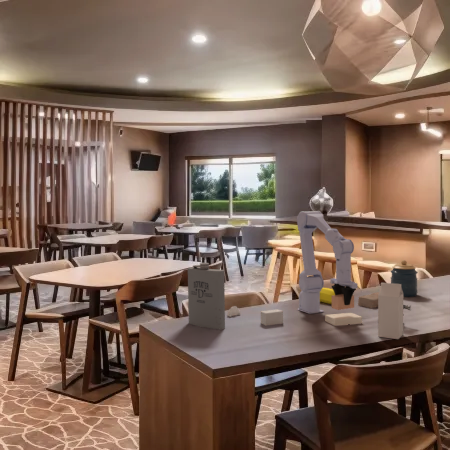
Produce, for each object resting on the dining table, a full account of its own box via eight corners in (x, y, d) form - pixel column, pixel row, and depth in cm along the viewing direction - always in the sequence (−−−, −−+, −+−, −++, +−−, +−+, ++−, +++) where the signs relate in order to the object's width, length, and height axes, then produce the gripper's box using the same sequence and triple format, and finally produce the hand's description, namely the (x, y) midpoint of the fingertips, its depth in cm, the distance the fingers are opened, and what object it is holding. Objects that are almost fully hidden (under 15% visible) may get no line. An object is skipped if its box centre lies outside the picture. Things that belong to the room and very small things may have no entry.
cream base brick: (325, 322, 203) (325, 314, 203) (351, 319, 206) (351, 312, 206) (334, 326, 195) (334, 319, 195) (362, 324, 198) (362, 316, 198)
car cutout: (235, 314, 219) (235, 303, 219) (244, 316, 214) (244, 306, 214) (206, 318, 211) (206, 308, 211) (215, 322, 206) (214, 311, 205)
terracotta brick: (331, 308, 200) (331, 295, 200) (347, 305, 204) (347, 293, 203) (338, 309, 196) (337, 297, 196) (354, 307, 200) (354, 295, 200)
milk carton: (398, 339, 175) (398, 285, 174) (378, 337, 178) (378, 284, 177) (403, 335, 181) (403, 282, 180) (383, 332, 184) (383, 281, 184)
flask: (185, 323, 201) (184, 261, 200) (193, 321, 205) (192, 260, 204) (219, 330, 191) (218, 264, 189) (226, 327, 194) (225, 263, 193)
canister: (395, 291, 264) (395, 258, 263) (420, 294, 257) (420, 259, 256) (387, 295, 254) (387, 260, 253) (413, 298, 246) (413, 262, 245)
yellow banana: (335, 306, 231) (346, 303, 236) (335, 291, 231) (345, 289, 236) (306, 300, 245) (316, 298, 250) (306, 287, 245) (316, 285, 249)
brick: (372, 308, 225) (372, 298, 225) (357, 305, 232) (357, 295, 232) (393, 303, 236) (393, 293, 235) (377, 301, 242) (378, 291, 242)
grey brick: (260, 323, 200) (260, 311, 200) (277, 321, 204) (277, 309, 203) (265, 325, 197) (265, 313, 196) (283, 323, 200) (283, 311, 200)
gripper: (324, 268, 204) (324, 301, 205) (347, 273, 191) (347, 308, 192) (338, 267, 207) (338, 299, 208) (361, 271, 194) (361, 306, 195)
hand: (343, 303), depth 200 cm, fingers closed on terracotta brick, 4 cm apart
